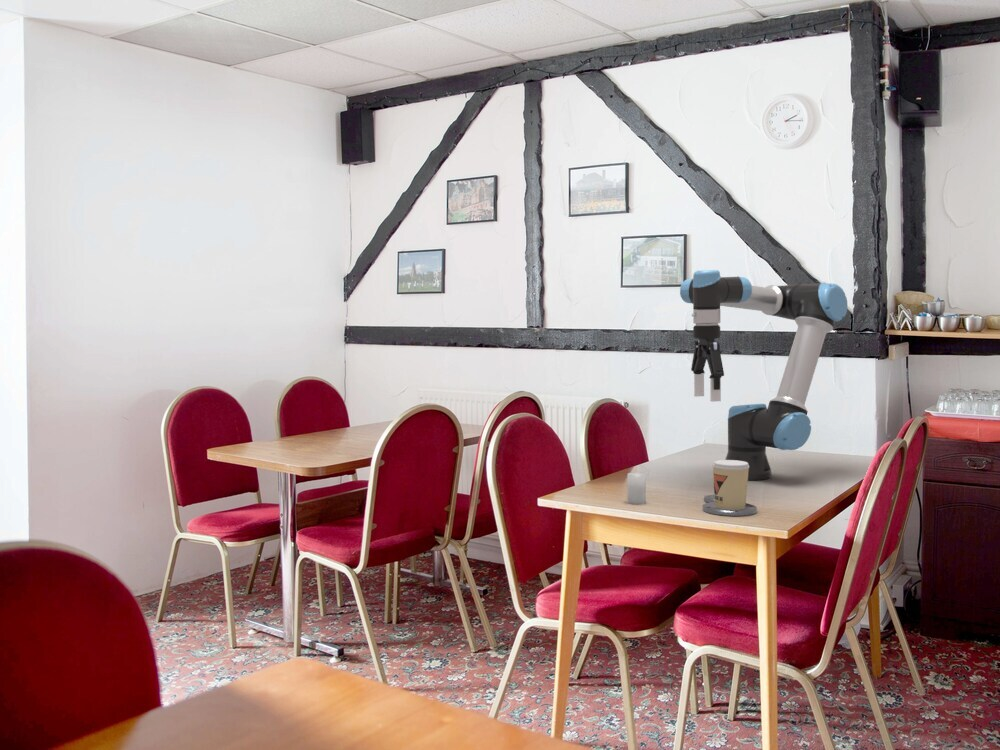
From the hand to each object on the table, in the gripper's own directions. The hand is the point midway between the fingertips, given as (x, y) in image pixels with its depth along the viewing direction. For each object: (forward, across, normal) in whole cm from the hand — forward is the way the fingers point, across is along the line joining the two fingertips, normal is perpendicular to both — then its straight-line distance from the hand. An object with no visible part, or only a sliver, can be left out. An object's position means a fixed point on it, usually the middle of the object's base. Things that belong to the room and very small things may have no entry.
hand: (707, 398), depth 264 cm
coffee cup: (+27, +23, -2) cm, 35 cm away
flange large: (+27, +22, -2) cm, 35 cm away
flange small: (+28, +10, 0) cm, 29 cm away
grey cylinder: (+27, +8, -23) cm, 37 cm away
